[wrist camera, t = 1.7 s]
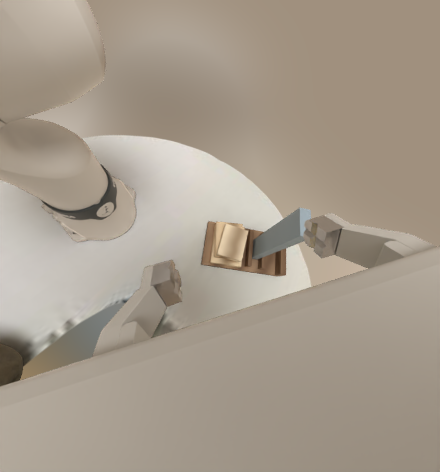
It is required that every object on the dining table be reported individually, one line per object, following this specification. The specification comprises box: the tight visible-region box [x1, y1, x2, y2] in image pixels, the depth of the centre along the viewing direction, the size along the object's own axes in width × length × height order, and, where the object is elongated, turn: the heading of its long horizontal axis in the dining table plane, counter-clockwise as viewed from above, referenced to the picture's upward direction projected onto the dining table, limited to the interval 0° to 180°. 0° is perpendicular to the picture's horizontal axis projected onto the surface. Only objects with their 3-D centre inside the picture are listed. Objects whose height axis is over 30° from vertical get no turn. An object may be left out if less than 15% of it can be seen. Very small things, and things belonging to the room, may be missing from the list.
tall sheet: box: [252, 208, 311, 260], centre depth 39 cm, size 2×5×22 cm, turn 173°
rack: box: [201, 222, 286, 276], centre depth 48 cm, size 22×12×4 cm, turn 82°
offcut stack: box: [210, 222, 248, 268], centre depth 45 cm, size 8×11×6 cm
